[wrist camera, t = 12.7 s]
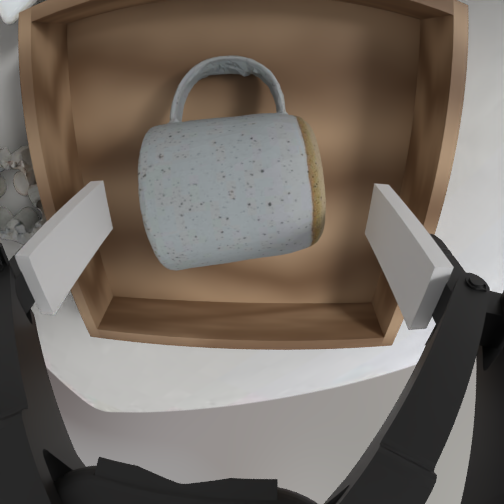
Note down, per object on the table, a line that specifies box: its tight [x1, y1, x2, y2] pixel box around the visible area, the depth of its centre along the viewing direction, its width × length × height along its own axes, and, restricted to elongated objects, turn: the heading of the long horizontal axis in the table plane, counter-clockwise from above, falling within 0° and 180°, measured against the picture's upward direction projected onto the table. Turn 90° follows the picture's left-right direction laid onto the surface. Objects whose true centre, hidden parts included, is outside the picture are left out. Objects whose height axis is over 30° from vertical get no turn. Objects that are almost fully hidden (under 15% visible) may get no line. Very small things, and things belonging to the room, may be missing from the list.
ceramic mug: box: [138, 56, 326, 271], centre depth 15 cm, size 11×8×8 cm
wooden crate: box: [18, 0, 468, 350], centre depth 18 cm, size 24×24×5 cm
